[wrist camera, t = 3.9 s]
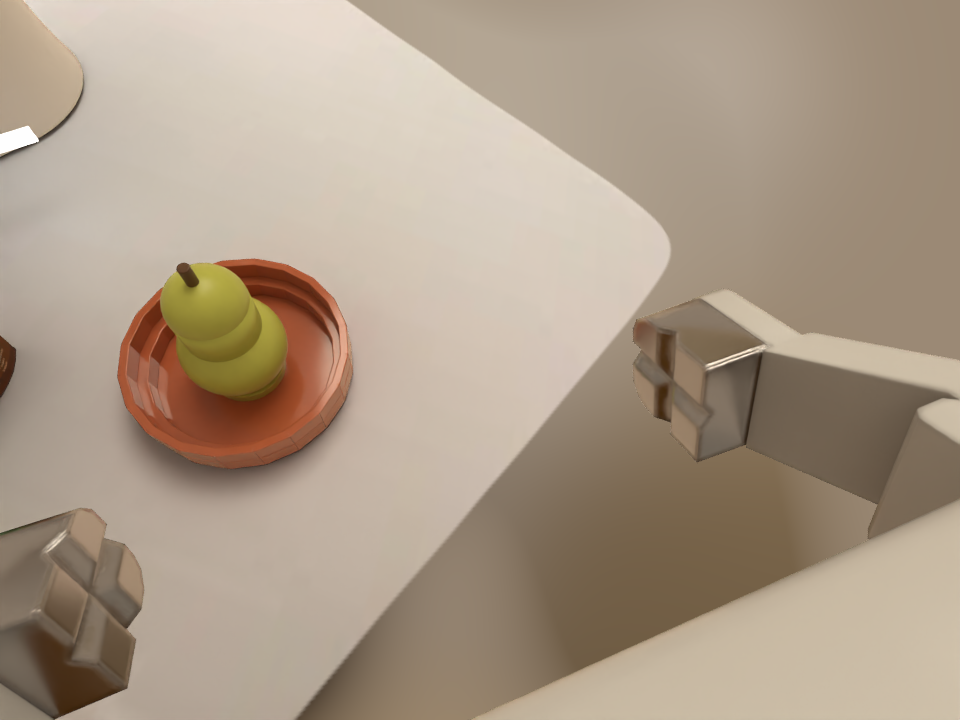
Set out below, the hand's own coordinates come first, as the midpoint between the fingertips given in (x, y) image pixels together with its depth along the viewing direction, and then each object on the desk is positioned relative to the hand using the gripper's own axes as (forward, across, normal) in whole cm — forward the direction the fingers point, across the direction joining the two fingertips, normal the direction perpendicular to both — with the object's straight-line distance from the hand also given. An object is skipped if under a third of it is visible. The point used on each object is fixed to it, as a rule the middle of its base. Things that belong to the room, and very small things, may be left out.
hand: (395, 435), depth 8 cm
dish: (+26, +8, +14) cm, 31 cm away
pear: (+26, +8, +14) cm, 31 cm away
